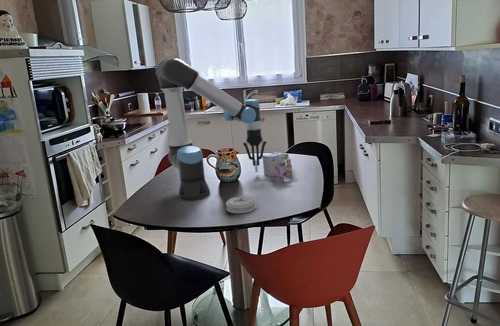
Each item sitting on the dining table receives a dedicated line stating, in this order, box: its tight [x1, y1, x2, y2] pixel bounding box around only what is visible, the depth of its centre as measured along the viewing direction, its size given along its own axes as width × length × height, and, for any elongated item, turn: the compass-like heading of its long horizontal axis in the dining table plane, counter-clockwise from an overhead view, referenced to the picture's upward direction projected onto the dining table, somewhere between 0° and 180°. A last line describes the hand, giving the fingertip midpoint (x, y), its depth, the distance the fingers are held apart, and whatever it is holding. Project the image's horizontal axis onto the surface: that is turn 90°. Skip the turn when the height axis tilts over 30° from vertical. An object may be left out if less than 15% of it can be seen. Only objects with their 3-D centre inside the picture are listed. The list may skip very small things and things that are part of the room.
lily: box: [267, 165, 291, 184], centre depth 217 cm, size 12×12×10 cm
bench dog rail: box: [284, 152, 293, 178], centre depth 232 cm, size 16×3×9 cm, turn 0°
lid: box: [225, 195, 257, 214], centre depth 182 cm, size 13×13×5 cm
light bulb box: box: [262, 151, 285, 177], centre depth 233 cm, size 11×7×11 cm, turn 133°
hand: (256, 171), depth 233 cm, fingers closed
